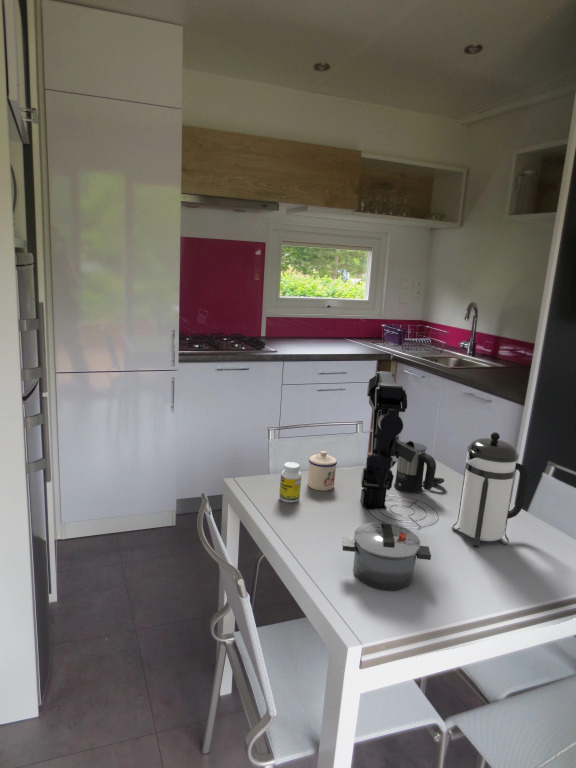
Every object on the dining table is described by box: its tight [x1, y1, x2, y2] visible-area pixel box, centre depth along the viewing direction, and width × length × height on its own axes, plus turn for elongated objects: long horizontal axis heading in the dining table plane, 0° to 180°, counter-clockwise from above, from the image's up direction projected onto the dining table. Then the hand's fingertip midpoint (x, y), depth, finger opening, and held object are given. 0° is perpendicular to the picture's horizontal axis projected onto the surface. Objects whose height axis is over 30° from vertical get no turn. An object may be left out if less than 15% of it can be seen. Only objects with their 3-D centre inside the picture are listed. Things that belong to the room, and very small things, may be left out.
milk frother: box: [393, 441, 445, 494], centre depth 179 cm, size 14×16×15 cm
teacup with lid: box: [307, 450, 338, 492], centre depth 176 cm, size 12×9×12 cm
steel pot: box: [342, 537, 432, 592], centre depth 126 cm, size 15×20×8 cm
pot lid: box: [353, 521, 421, 559], centre depth 125 cm, size 15×15×2 cm
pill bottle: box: [279, 461, 302, 504], centre depth 163 cm, size 6×6×11 cm
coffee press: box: [451, 431, 529, 549], centre depth 146 cm, size 17×16×30 cm
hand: (381, 487), depth 146 cm, fingers closed
